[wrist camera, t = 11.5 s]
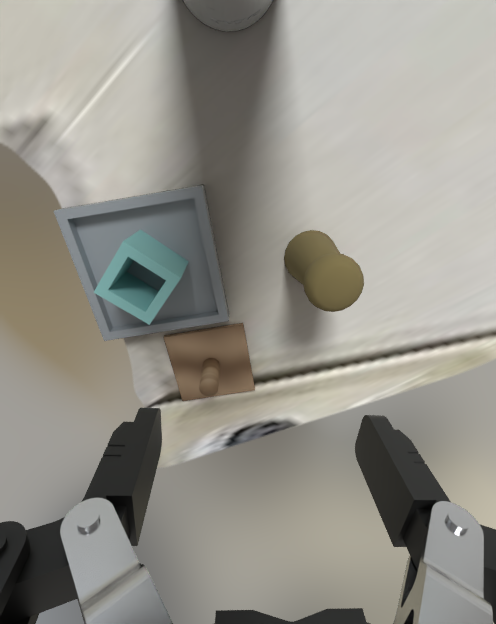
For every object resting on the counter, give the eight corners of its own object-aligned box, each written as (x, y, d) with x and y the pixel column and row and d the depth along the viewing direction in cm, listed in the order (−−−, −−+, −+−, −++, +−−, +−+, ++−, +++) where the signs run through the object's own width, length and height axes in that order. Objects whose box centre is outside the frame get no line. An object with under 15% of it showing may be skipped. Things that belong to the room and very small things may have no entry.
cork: (283, 282, 38) (302, 323, 28) (284, 231, 36) (304, 256, 26) (334, 280, 38) (370, 320, 28) (338, 229, 36) (379, 252, 26)
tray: (63, 208, 34) (53, 210, 32) (203, 184, 34) (201, 185, 32) (110, 333, 40) (104, 340, 38) (229, 314, 40) (228, 321, 38)
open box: (140, 229, 34) (123, 241, 29) (188, 261, 36) (180, 278, 30) (108, 283, 37) (86, 304, 31) (155, 311, 38) (142, 335, 33)
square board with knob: (164, 335, 40) (154, 358, 35) (243, 322, 40) (244, 344, 35) (183, 398, 45) (176, 427, 40) (254, 387, 44) (257, 415, 39)
